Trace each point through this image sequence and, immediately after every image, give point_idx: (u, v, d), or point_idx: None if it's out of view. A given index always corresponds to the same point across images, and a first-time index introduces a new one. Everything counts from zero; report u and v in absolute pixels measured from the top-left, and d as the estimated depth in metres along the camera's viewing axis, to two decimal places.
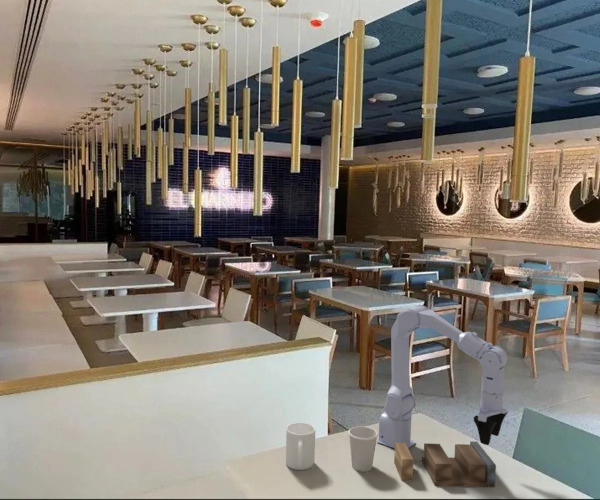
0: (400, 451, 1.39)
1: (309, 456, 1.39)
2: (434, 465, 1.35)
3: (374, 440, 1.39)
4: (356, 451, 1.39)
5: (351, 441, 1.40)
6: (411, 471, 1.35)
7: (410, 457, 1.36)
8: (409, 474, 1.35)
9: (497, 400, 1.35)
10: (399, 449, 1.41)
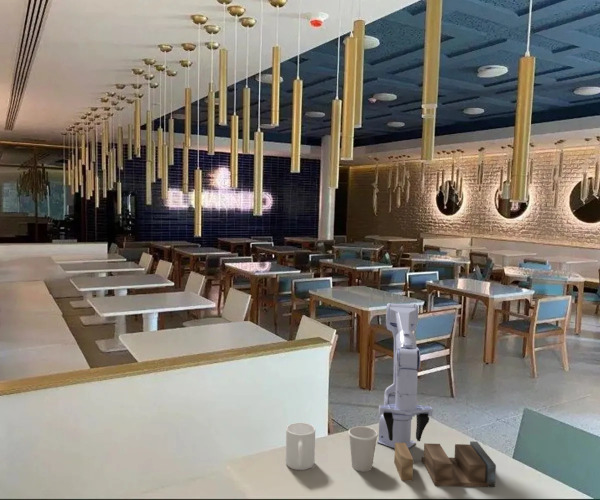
0: (400, 451, 1.39)
1: (309, 456, 1.39)
2: (434, 465, 1.35)
3: (374, 440, 1.39)
4: (356, 451, 1.39)
5: (351, 441, 1.40)
6: (411, 471, 1.35)
7: (410, 457, 1.36)
8: (409, 474, 1.35)
9: (401, 399, 1.37)
10: (399, 449, 1.41)
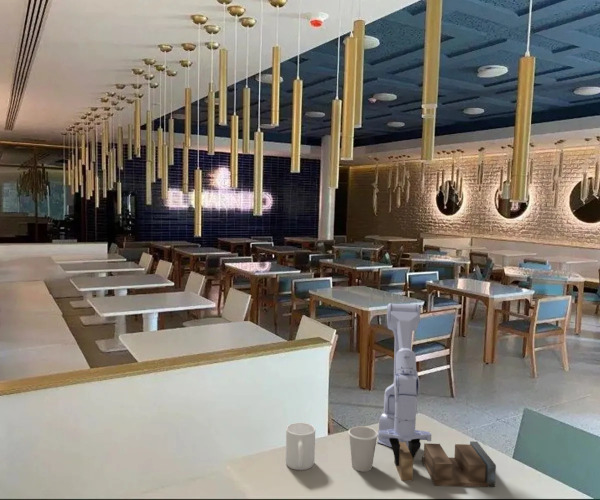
0: (400, 451, 1.39)
1: (309, 456, 1.39)
2: (434, 465, 1.35)
3: (374, 440, 1.39)
4: (356, 451, 1.39)
5: (351, 441, 1.40)
6: (411, 471, 1.35)
7: (410, 457, 1.36)
8: (409, 474, 1.35)
9: (400, 425, 1.37)
10: None
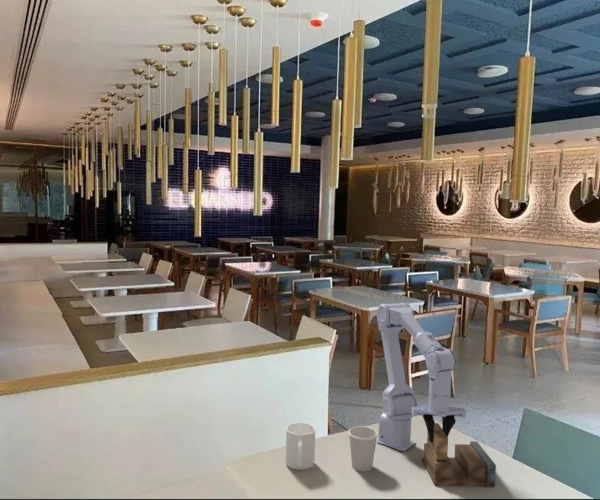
0: (434, 430, 1.39)
1: (309, 456, 1.39)
2: (434, 465, 1.35)
3: (374, 440, 1.39)
4: (356, 451, 1.39)
5: (351, 441, 1.40)
6: (446, 450, 1.35)
7: (445, 436, 1.36)
8: (444, 453, 1.35)
9: (434, 401, 1.36)
10: None
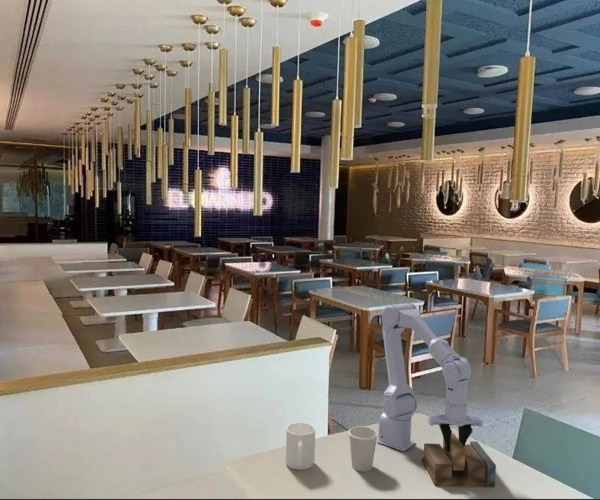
0: (450, 441, 1.39)
1: (309, 456, 1.39)
2: (434, 465, 1.35)
3: (374, 440, 1.39)
4: (356, 451, 1.39)
5: (351, 441, 1.40)
6: (463, 460, 1.35)
7: (462, 446, 1.36)
8: (461, 464, 1.35)
9: (451, 410, 1.37)
10: None
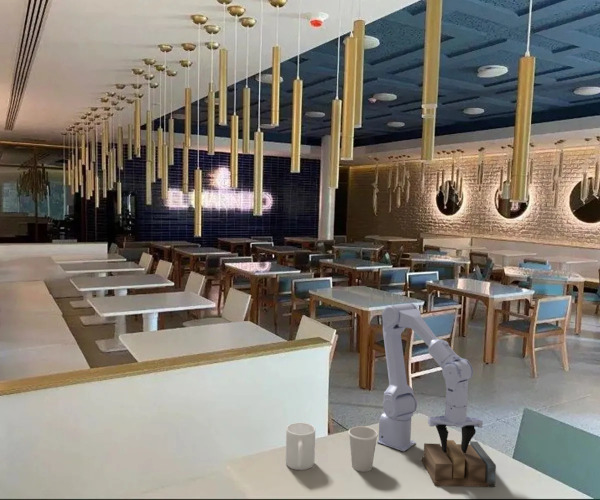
0: (450, 448, 1.39)
1: (309, 456, 1.39)
2: (434, 465, 1.35)
3: (374, 440, 1.39)
4: (356, 451, 1.39)
5: (351, 441, 1.40)
6: (463, 468, 1.35)
7: (461, 454, 1.36)
8: (461, 471, 1.35)
9: (451, 411, 1.37)
10: (449, 446, 1.40)
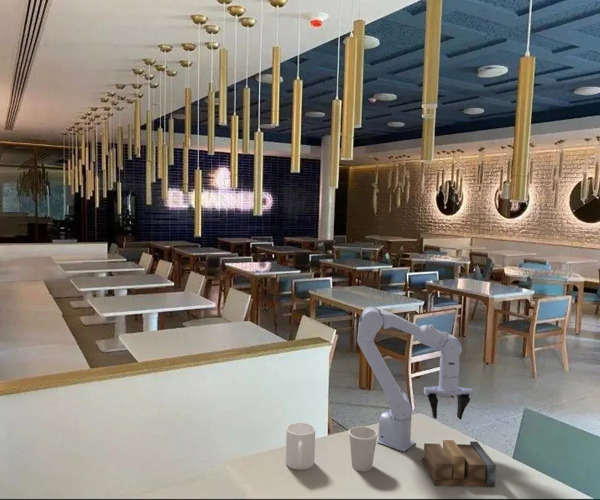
0: (450, 448, 1.39)
1: (309, 456, 1.39)
2: (434, 465, 1.35)
3: (374, 440, 1.39)
4: (356, 451, 1.39)
5: (351, 441, 1.40)
6: (463, 468, 1.35)
7: (461, 454, 1.36)
8: (461, 471, 1.35)
9: (444, 381, 1.52)
10: (449, 446, 1.40)
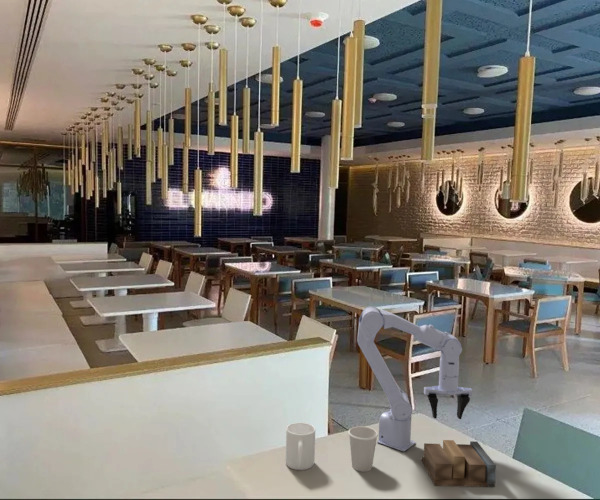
0: (450, 448, 1.39)
1: (309, 456, 1.39)
2: (434, 465, 1.35)
3: (374, 440, 1.39)
4: (356, 451, 1.39)
5: (351, 441, 1.40)
6: (463, 468, 1.35)
7: (461, 454, 1.36)
8: (461, 471, 1.35)
9: (444, 381, 1.52)
10: (449, 446, 1.40)
